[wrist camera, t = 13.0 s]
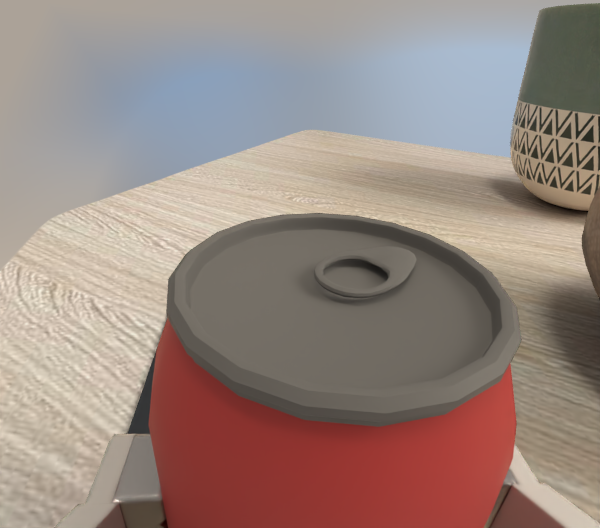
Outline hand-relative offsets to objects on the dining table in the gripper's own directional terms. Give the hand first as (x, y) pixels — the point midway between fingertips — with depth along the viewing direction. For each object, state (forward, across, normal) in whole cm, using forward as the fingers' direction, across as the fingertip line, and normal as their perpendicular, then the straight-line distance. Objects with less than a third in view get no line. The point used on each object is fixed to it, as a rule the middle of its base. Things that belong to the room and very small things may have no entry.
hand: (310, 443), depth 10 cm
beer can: (-1, 0, +7) cm, 7 cm away
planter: (+40, -39, +8) cm, 57 cm away
